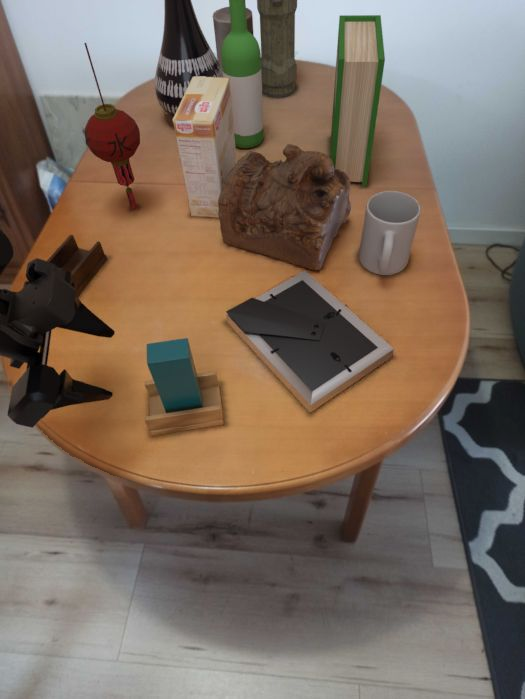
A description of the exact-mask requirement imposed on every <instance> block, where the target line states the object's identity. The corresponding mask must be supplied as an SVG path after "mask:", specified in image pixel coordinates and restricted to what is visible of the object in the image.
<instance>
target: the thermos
mask: <svg viewBox="0 0 525 699" xmlns="http://www.w3.org/2000/svg"><path fill="white" fill-rule="evenodd" d="M256 8H257V12H258V15H259V30H260V32H259V33H260V34H259V35H260V53H261V74H262V95H264V96H267V97H269V98H275V99H276V98H278V99H279V98H285V97H289V96H291V95H293V94H294V93H295V92H296V89H297V86H296V85H297V84H296V81H297V78H298V77H297V74H298V68H297V67H298V65H297V62H296V59H295V58H296V56H295V52H296V51H295V49H296V46H295V45H296V44H295V43H296V12H297V8H298V0H256Z"/></svg>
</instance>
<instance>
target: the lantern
mask: <svg viewBox="0 0 525 699" xmlns="http://www.w3.org/2000/svg"><path fill="white" fill-rule="evenodd" d="M84 47H85V50H86V54H87V57H88V60H89V64H90V68H91V71H92V73H93V77H94V81H95V84H96V87H97V89H98V94H99V97H100V100H101V103H102V104H99V105H97V106H96V107H95V109H94V114H92V115H91V116H90V117H89V118H88V120H87V122H86V124H85V127H84V138H85V144H86V145H87V147H88V149H89V151H90V152H91V153H92V154H93V155H94V156H95V157H96V158H98V159H100V160H101V161H104V162H106V163H110V164H111V165H112V169H113V172H114V175H115V178H116V182H117V184H118V185H120V186H122V187H123V186H124V187H126V189H125V193H126V197H127V199H128V202H129V203H128V204H129V206H130V209H131V210H133V211H136V210H137V209H138V204H137V201H136V198H135V195H134V190H133V188H132V187H130V185H133V183H134V182H135V176H134V173H133V168H132V165H131V162H130V161H131V160H130V158H132V157H134V156H135V154H136V152H137V150H138V148H139V146H140V144H141V131H140V127H139V125H138V123H137V121H136V120H135V119H134V118H133V117H131V115H130V114H128V113H127V112H125V111H124V110H121V109H118V108H116V106H115V105H114V104H111V103H105V102H104V98H103V96H102V92H101V89H100V85H99V82H98V79H97V74H96V71H95V68H94V65H93V61H92V58H91V54H90V52H89V48H88V44H87V42H84Z"/></svg>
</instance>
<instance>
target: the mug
mask: <svg viewBox="0 0 525 699" xmlns="http://www.w3.org/2000/svg"><path fill="white" fill-rule="evenodd" d="M420 216H421V205H420V203H419V201H417V199H416V198H415V197H413V196H411V194H408V193H406V192H403V191H402V192H401V191H399V190H397V191H396V190H384V191H381V192H377V193H375V194H373V195H372V196H370V198H369V199H368V200H367V203H366V205H365V211H364V218H363V224H362V232H361V239H360V243H359V244H360V245H359V250H358V260H359V263H360V264H361V266H362V267H363V268H364V269H365V270H366V271H368V272H371V273H372V274H375V275H380V276H392V275H395V274H398V273H400V272H402V271H403V270H404V269H405V268H406V267H407V266H408V263H409V260H410V255H411V252H412V246H413V243H414V239H415V235H416V231H417V227H418V224H419V220H420Z"/></svg>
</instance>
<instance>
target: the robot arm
mask: <svg viewBox="0 0 525 699" xmlns="http://www.w3.org/2000/svg"><path fill="white" fill-rule="evenodd" d="M13 257H14V247H13V244H12V242H11V240H10V239H9V237H8V236H7V234H6V233H5V232H4V231H2V230H1V229H0V277H1V276H2V274H3V273H4V271H5V270H6V268H7V266H8V265H9V263H10V262H11V261H12V259H13ZM25 278H26V279H27V280H26V281H24V282H23V287H22V289H20V290H19V291H12V290H10V289H7V288H0V357H4V358H7V359H9V360H10V362H9V367H12V368H15V369H17V370H18V369H21V367H22V366H23V365H24V364H26V370H25V371H24V373H23V374H22V375H21V376H20V377H19V378H18V380H17V381H16V382H15V384H13V385H12V387H11V392H10V399H9V403H8V410H7V417H8V418H9V419H10V420H11V421H12V422H13V423H14V424H16V425H19V426H22V427H26V428H33V427H35V426H36V425H37V424H38V423H39V422H40V421H41V420H42V419H44V417H46V416H47V415H48V413H50V412H51V411H53V410H58V409H60V408H65V407H69V406H75V405H81V404H89V403H95V402H101V401H108V400H110V399H111V398H112V397H113V396H114V395H113V391H110V390H108V389H105V388H104V387H100V386H96V385H94V384H90V383H87V382H84V381H81V380H77V379H74V378H73V377H72V376H71V375H70V374H69V372H68V371H67V370H66V368H65V369H63V370H62V371H61V372H60V373H58V371H57V370H56V369H55V368H54V367H53V366H51V365H48V360H49V354H50V345H51V337H52V331H53V330H55V329H56V328H59V329H64V330H68V331H72V332H78V333H80V334H81V333H82V334H86V335H90V336H95V337H99V338H107V339H110V338H112V337H113V336H114V335H115V333H116V331H115V330H114V329H113V328H112V327H111V326H109V325H108V324H107V323H106V322H104V321H103V320H102V318H100V317H98V315H96V314H95V313H94V312H93V311H92V310H90V309H89V308H88V307H87V306H86V305H85V304H84V303H83V302H82V301H81V300H80V298H79V296H78V294H77V290H76V284H75V283H74V282H73V281H72V282H71V283H70V279H71V272H68V271H66V270H64V269H63V268H59V267H57V266H56V265H55V264H53V263H50V262H47V260H44V259H41V258H38V257H36V258H34V259H33V260H31V261H29V262H28V263H27V265H26V270H25Z"/></svg>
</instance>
